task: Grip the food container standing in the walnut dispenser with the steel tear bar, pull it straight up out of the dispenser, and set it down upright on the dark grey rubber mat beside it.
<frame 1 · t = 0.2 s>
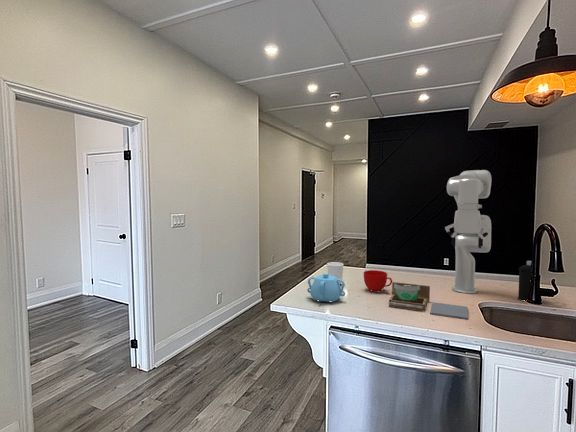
hand: (466, 247, 140), 31 cm above the counter, tool pointing down, fingers open, 9 cm apart
food container: (407, 306, 157), resting in dispenser
mat: (449, 311, 149), on the counter
black bottle: (527, 300, 164), on the counter
cup: (335, 284, 195), on the counter
decorative pot: (325, 299, 167), on the counter
dispenser: (407, 305, 157), on the counter
ceramic cup: (378, 291, 181), on the counter
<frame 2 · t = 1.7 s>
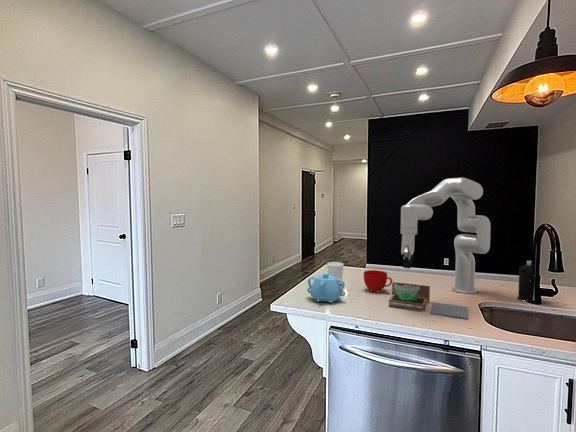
hand: (408, 266, 156), 19 cm above the counter, tool pointing down, fingers open, 9 cm apart
nothing on the counter moved.
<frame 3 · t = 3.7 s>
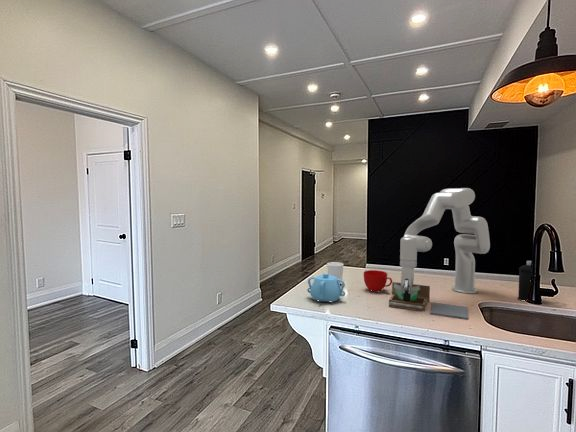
hand: (407, 298, 157), 3 cm above the counter, tool pointing down, fingers closed on food container, 6 cm apart
food container: (407, 305, 157), resting in dispenser, touching gripper
everything else where it was.
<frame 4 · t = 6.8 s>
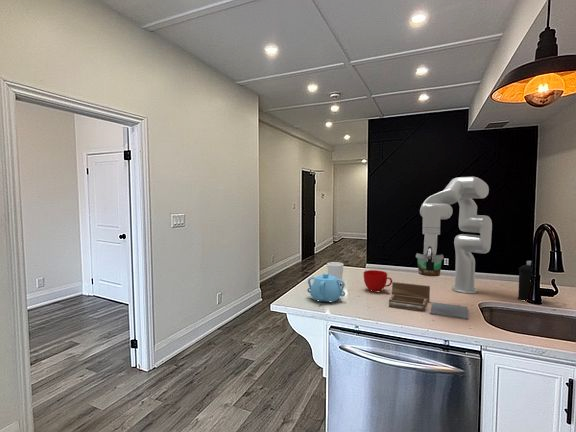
hand: (430, 268, 152), 19 cm above the counter, tool pointing down, fingers closed on food container, 6 cm apart
food container: (430, 275, 152), point 16 cm above the counter, touching gripper
everything else where it was.
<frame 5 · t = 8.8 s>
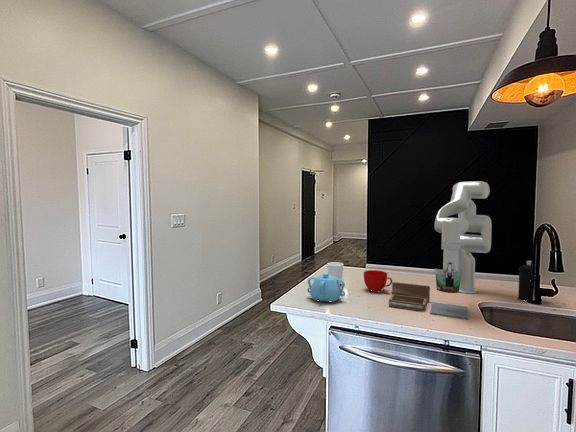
hand: (449, 284, 148), 12 cm above the counter, tool pointing down, fingers closed on food container, 6 cm apart
food container: (449, 292, 148), point 9 cm above the counter, touching gripper
everything else where it was.
when the fingers open (5 cm above the counter, at t = 10.6 s): food container moves 1 cm, resting on mat.
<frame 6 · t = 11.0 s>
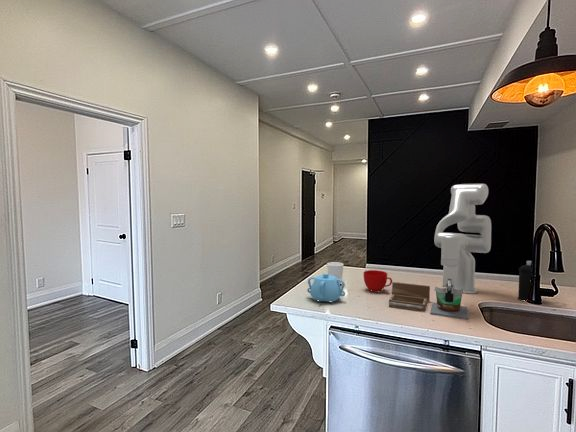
hand: (449, 298, 148), 6 cm above the counter, tool pointing down, fingers open, 9 cm apart
food container: (449, 310, 147), point 1 cm above the counter, touching gripper, mat
everything else where it was.
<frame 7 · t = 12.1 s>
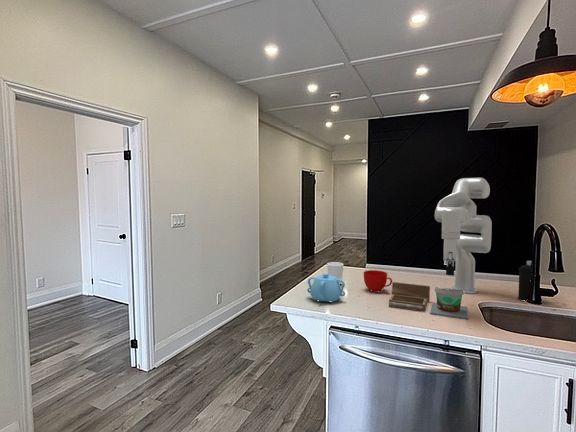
hand: (450, 272, 148), 18 cm above the counter, tool pointing down, fingers open, 9 cm apart
food container: (449, 311, 147), point 1 cm above the counter, touching mat
everything else where it was.
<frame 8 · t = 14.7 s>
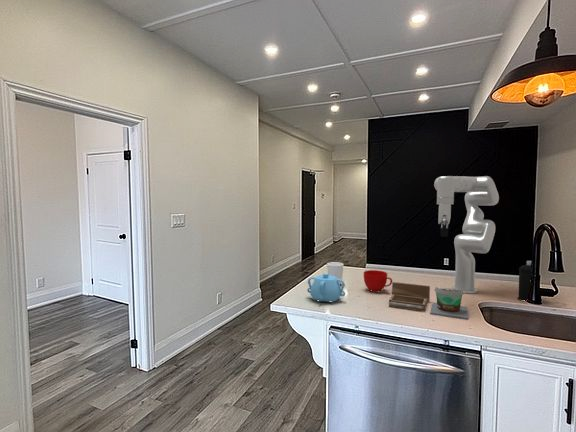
hand: (444, 235, 161), 33 cm above the counter, tool pointing down, fingers open, 9 cm apart
nothing on the counter moved.
at the end: food container inside the target area on the mat (1.7 cm from its centre), point 0.6 cm above the mat's base; food container tilted 0°; the gripper is holding nothing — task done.
